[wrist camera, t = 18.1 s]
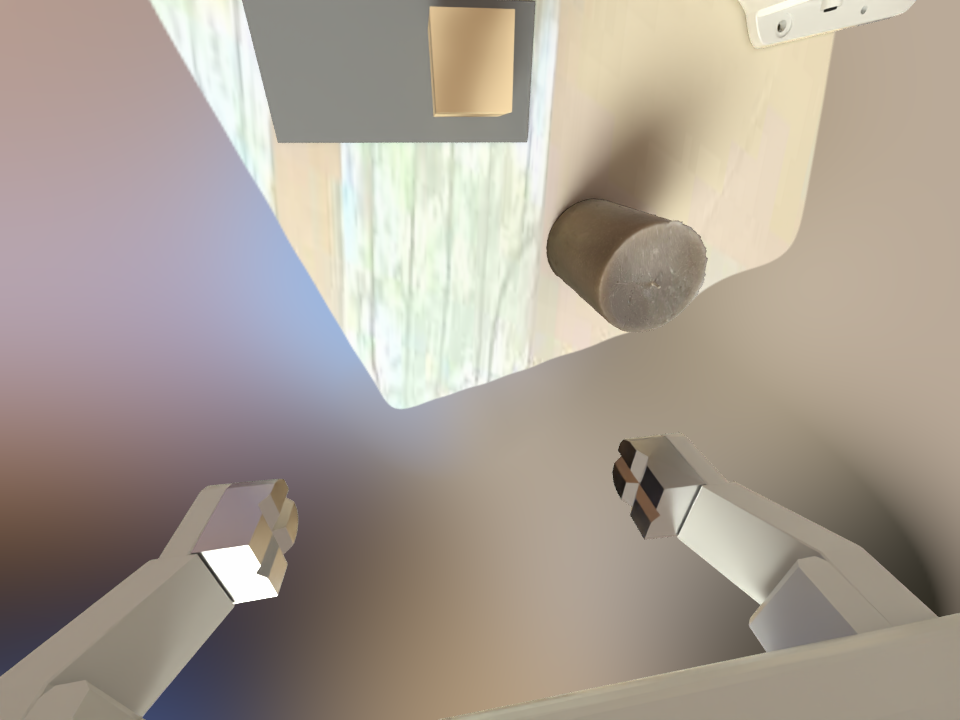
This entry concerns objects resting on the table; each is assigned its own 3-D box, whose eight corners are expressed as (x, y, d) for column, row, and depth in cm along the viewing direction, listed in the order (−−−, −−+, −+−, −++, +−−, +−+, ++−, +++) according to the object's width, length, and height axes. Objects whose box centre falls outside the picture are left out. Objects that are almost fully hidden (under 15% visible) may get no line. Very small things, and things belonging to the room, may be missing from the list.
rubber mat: (534, 2, 30) (534, 1, 30) (526, 142, 35) (527, 142, 35) (240, -12, 27) (238, -13, 27) (279, 142, 32) (278, 142, 32)
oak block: (429, 6, 25) (427, 29, 30) (436, 112, 28) (433, 117, 33) (515, 8, 25) (498, 31, 30) (512, 112, 28) (497, 116, 34)
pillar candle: (541, 284, 43) (594, 344, 31) (551, 196, 38) (620, 224, 26) (616, 282, 45) (696, 338, 32) (636, 196, 40) (740, 223, 27)
